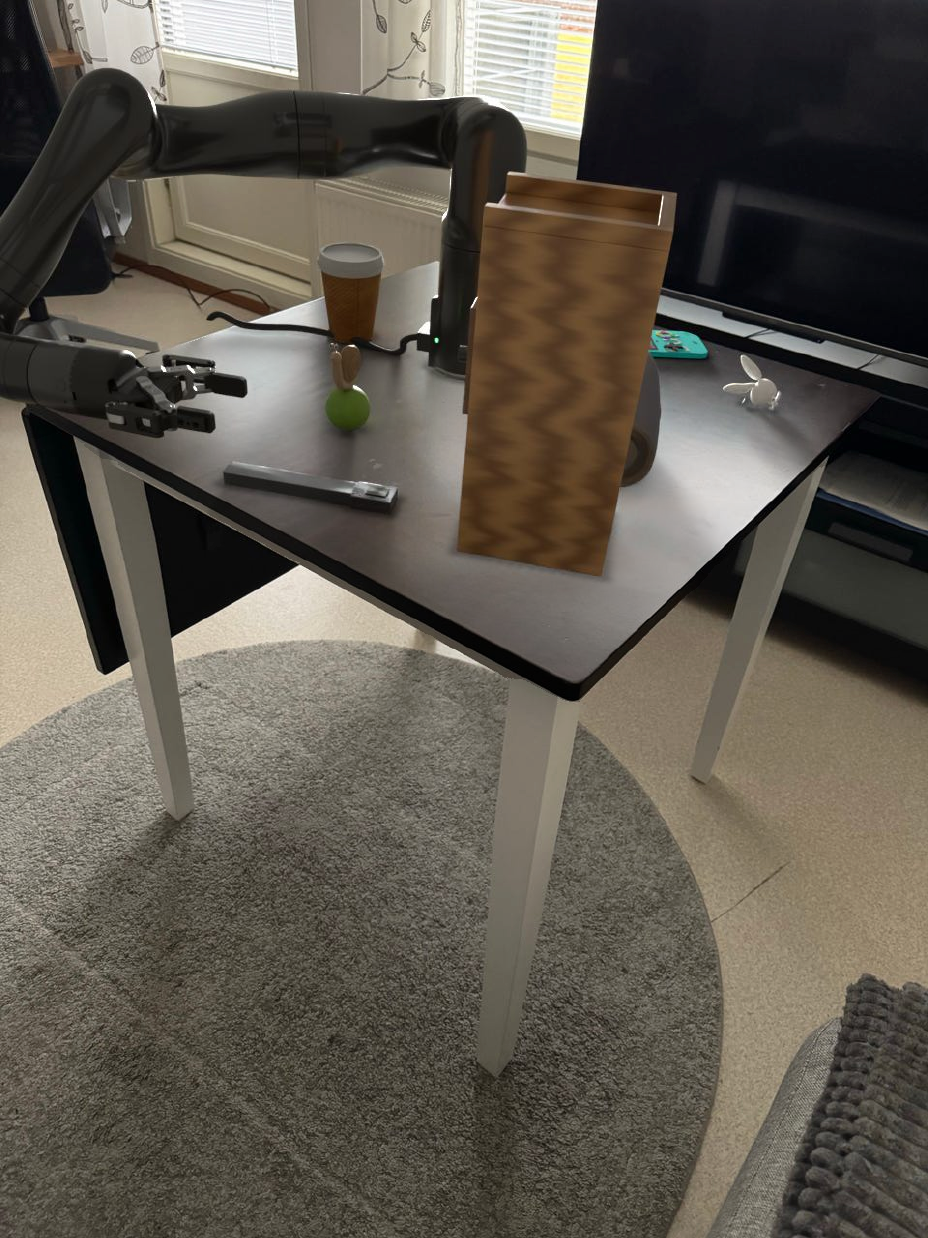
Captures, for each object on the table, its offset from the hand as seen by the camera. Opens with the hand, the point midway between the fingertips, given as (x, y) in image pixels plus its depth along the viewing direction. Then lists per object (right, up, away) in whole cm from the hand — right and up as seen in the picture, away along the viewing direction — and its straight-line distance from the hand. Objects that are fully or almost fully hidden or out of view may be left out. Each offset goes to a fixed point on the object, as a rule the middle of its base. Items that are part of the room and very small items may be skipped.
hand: (230, 404), depth 96 cm
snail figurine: (+10, +1, +17) cm, 19 cm away
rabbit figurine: (+64, +8, +31) cm, 71 cm away
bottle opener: (+9, -9, +5) cm, 13 cm away
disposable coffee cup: (+8, +19, +39) cm, 44 cm away
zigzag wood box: (+32, -13, +2) cm, 35 cm away
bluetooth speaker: (+43, -2, +17) cm, 46 cm away
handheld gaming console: (+53, +19, +44) cm, 72 cm away
